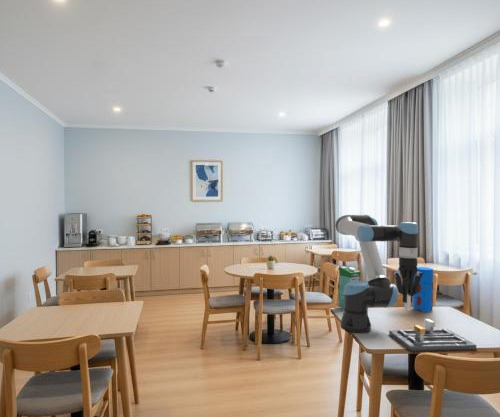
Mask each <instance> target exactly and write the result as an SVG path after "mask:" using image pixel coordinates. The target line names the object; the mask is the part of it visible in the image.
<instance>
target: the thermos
mask: <svg viewBox="0 0 500 417" xmlns="http://www.w3.org/2000/svg"><path fill="white" fill-rule="evenodd" d="M417 269H418V271H419V272H421V273H423V275H422V277H421V279H420V283H419V287H418V291H417V294H414V296H412V308H414V309H413V310H414V311H418V312H422V313H423V312H424V313H430V312H433V308H434V307H433V306H434V268H431V267H425V266H417ZM415 276H416V274H415ZM415 276H414V279H415ZM413 283H414V280H413Z"/></svg>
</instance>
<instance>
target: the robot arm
mask: <svg viewBox="0 0 500 417" xmlns="http://www.w3.org/2000/svg"><path fill="white" fill-rule="evenodd" d="M334 226H335V230H336V232H337V233H338V234H340V235H345V236H353V237H354V239H355V240H356V241H357V242H359V247H360V251H361V255H362V259H363V262H364V266H365V271H366V274H367V278H368V280H367V281H365V280H361V281H352V282H348V283H347V284H346V285H345V289H344V309H343V314H342V316H341V320H340V324H339V325H340V328H341V329H342V330H344V331H346V332H350V333H355V334H360V333H361V334H364V333H365V334H366V333H369V332H370V331H372V323H371V320H370V317H369V314H368V313H369V312H368V311H369V308H391V307H394V306H395V305H396V304H397V302H398V299H399V296H398V295H399V294H401V295H402V302H403V303H404V304H403V305H404V307H403V309H404V310H405V311H408V312H409V311H411V310H412V308H411V307H412V306H411V304H413V296H414V294H417V291H418V287H419V283H420V279H421V277H422V275H423V273H421V272H419V271H418V269H417V267H418V249H419V248H418V246H419V245H418V244H419V225H418V223H417V222H412V221H411V222H410V221H409V222H406V221H401V222H400V223H399V225H397V224H391V225H383V224H382V225H379V222H378V221H377V218H376V217H374V216H373V215H369V214H364V215H363V214H344V215H342V216H339V217H338V218H337V220H336V222H335V224H334ZM376 242H398V243H399V245H398V246H399V247H398V250H399V251H398V252H399V253H398V255H399V258H398V265H399V267H398V268H397V271H394V272H393V273H392V274H393V276H394V278H395V281H396V284H394V283H391V280H390V278H389V277H387V276H386V274H385V270H384V266H383V263H382V261H381V257H380V253H379V249H378V245H377V243H376ZM415 274H416V276H415ZM414 276H415V279H414ZM413 280H414V283H413Z"/></svg>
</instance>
